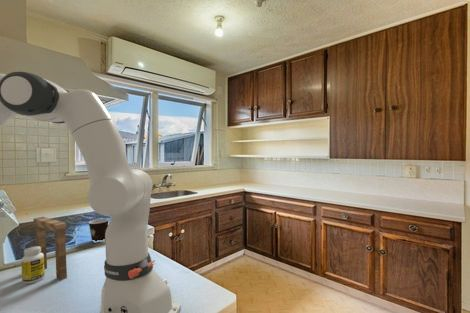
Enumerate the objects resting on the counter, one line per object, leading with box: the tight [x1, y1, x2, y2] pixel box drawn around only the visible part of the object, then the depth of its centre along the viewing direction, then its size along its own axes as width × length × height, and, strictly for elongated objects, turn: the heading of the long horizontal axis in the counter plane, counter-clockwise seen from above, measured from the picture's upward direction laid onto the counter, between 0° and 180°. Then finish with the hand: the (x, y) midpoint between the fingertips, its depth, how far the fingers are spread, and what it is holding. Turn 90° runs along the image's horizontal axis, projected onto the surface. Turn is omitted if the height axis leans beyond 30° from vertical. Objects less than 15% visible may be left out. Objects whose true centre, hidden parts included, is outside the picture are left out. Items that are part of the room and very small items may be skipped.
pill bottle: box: [21, 245, 45, 285], centre depth 88 cm, size 6×6×11 cm
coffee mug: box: [88, 218, 109, 241], centre depth 124 cm, size 12×9×10 cm
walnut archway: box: [33, 216, 68, 281], centre depth 93 cm, size 18×3×20 cm, turn 59°
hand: (4, 209), depth 82 cm, fingers open, 8 cm apart
